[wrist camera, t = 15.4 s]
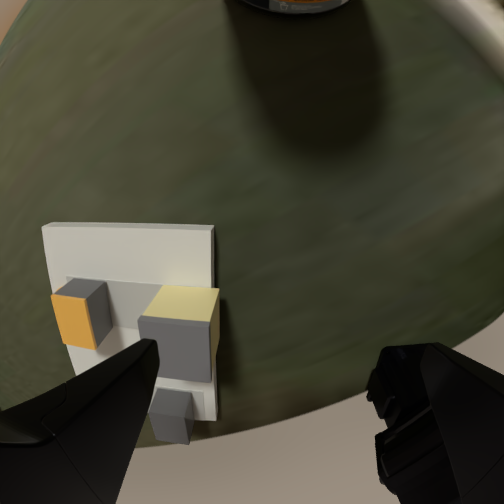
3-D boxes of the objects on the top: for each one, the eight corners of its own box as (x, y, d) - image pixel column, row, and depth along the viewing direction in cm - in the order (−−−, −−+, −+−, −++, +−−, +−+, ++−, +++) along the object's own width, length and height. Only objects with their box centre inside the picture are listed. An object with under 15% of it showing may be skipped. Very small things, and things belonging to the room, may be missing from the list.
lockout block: (220, 287, 21) (208, 327, 16) (220, 337, 22) (210, 383, 17) (162, 283, 21) (137, 320, 16) (167, 333, 22) (146, 375, 17)
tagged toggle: (105, 281, 21) (83, 300, 18) (113, 327, 22) (95, 350, 19) (73, 278, 21) (50, 295, 18) (82, 322, 22) (63, 343, 19)
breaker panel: (214, 225, 21) (210, 231, 19) (217, 410, 27) (215, 423, 25) (52, 222, 21) (39, 227, 19) (90, 388, 27) (83, 399, 25)
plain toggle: (190, 392, 24) (184, 417, 21) (194, 421, 25) (189, 444, 22) (157, 388, 24) (148, 411, 21) (163, 416, 25) (156, 439, 22)
